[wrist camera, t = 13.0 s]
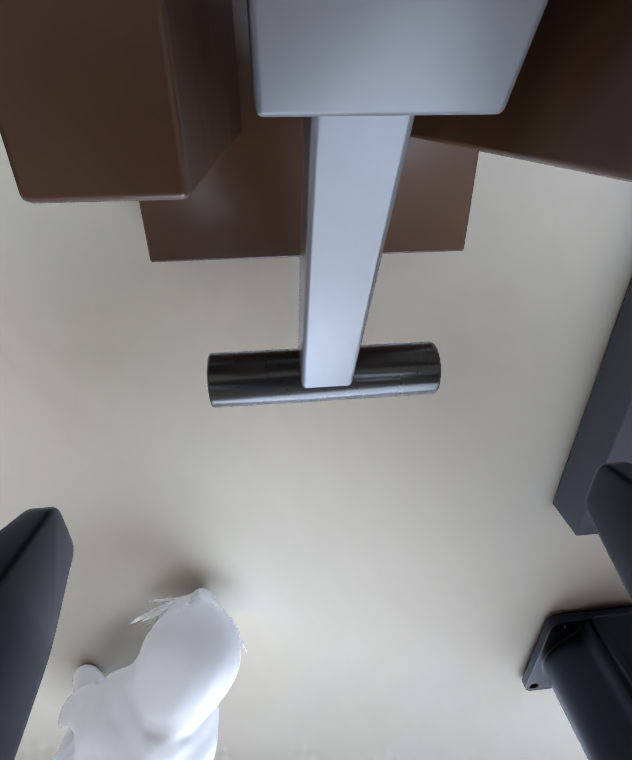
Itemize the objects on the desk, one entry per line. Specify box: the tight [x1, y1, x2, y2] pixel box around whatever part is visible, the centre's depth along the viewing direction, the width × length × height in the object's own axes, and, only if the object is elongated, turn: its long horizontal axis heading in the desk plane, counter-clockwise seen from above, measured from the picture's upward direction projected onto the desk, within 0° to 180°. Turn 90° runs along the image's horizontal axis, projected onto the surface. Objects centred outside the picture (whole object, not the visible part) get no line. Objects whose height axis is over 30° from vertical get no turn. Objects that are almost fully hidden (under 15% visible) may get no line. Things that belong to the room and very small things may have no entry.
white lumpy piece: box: [52, 588, 248, 760], centre depth 18 cm, size 6×8×12 cm
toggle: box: [207, 0, 548, 408], centre depth 7 cm, size 10×5×2 cm
